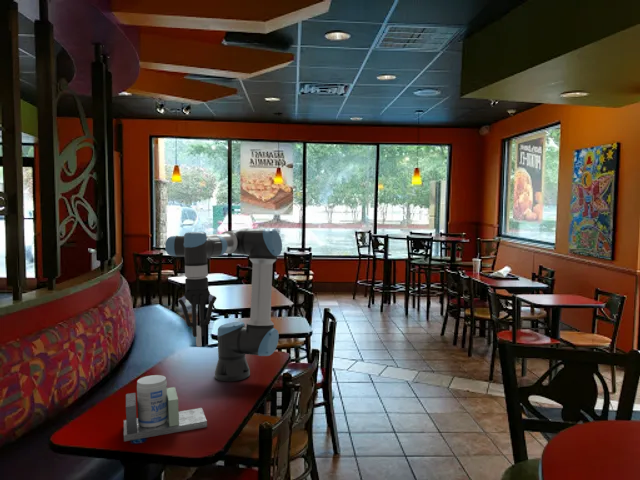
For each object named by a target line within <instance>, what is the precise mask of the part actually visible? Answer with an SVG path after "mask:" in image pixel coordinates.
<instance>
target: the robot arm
mask: <svg viewBox="0 0 640 480" xmlns="http://www.w3.org/2000/svg"><path fill="white" fill-rule="evenodd" d="M164 244H165V246H164V247H165V248H164V249H165V251H166V254H167V255H168V256H170V257H175V258H177V257H184V276H185V279H184V283H185V284H184V286H185V291H184V294H183V296H182V297H180V298H178V299H177V301H178V303H179V304H180V306H181V309H182V312H183V316H184V319H185V322H186V326H187V327H190V328H192V336H193V337H194V338H195V346H196V347H197V348H199V347H202V337H204V336H205V326H207V325H208V326H209V325H210V324H211V318H212V313H213V308H214V304H215V302H216V300H217V296H216V295H213V294H211V292H210V290H209V278H208V276H209V273H208V272H209V271H208V258H209V259H210V258H218V257H220V256H223V255H225V254H227V255H230V254H234V255H241V256H244V255H245V256H248V257H249V259H248V260H250V262H251V263H252V267H251V268H252V269H251V270H252V271H251V290H250V291H251V293H250V297H251V298H250V317H249V320H248V321H247V322H246V324H245V322H243V321H233V322H232V321H231V322H228V323H224V324H221V325H220V326H218V328H217V352H218V353H217V355H218V358H217V359H218V360H217V362H216V363H217V364H216V367H215V370H214V378H215V379H216V380H217V381H220V382H237V381H241V380H245V379H248V378H249V377H250V375H251V371H250V367H249V364H248V361H247V358H246V355H249V356H250V355H252V356H259V357H269V356H271V355H273V354H274V352H275V350H276V349H277V347H278V343H279V338H280V336H279V335H280V334H279V331H278V329H276V328H274V327H275V326H274V325H275V324H274V322H273V321H272V320H271V318H272V317H271V312H272V291H273V290H272V286H273V264H274V263H275V262H276V261H277V257H279V256H280V255H281V254H282V250H283V241H282V238H281V235H280V233H279V232H278V231H277V230H276V229H274V228H267V227H265V228H264V227H263V228H262V227H261V228H238V229H234V230H227V231H224V232H222V233H212V234H207V233H206V232H205V231H189V232H185V233H184V235H172V236H168V238H166V241H165V243H164ZM186 300H187V301H188V303H190V306H191V319H190V316H189V313H188V312H189V311H188V310H187V309H188V308H187V306H186V303H187V301H186ZM207 300H208V306H207V310H206V315H205V310H204V309H205V303H206V301H207ZM197 305H198V311H199V325H197Z"/></svg>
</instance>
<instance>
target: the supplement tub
mask: <svg viewBox="0 0 640 480" xmlns="http://www.w3.org/2000/svg"><path fill="white" fill-rule="evenodd" d="M167 384H168V382H167V377H166V376H164V375H160V374H154V375H146V376H142V377H140V378H139V379H137V381H136V407H137V418H138V424H139V425H140V426H142V427H156V426H160V425H162V424H164V423H165V422H166V421H167V419H168V408H167V388H168V385H167Z"/></svg>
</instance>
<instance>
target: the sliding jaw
mask: <svg viewBox="0 0 640 480" xmlns="http://www.w3.org/2000/svg"><path fill="white" fill-rule="evenodd" d="M176 389H177V388H176V386H172V387H167V408H168V421H169V426H176V425H179V411H180V410H179V397H178V393H177V391H176Z"/></svg>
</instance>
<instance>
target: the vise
mask: <svg viewBox="0 0 640 480" xmlns="http://www.w3.org/2000/svg"><path fill="white" fill-rule="evenodd" d="M125 415H126V417H125V419H123V442H129V441H135V440H140V439H145V438H150V437H156V436H163V435H164V436H165V435H168V434H169V435H170V434H174V433H179V432H180V433H181V432H185V431H190V430H191V431H193V430H196V429H197V430H198V429H203V428H207V427H208V420H207V418H206V415H205V412H204V410H203V408H202V407H198V408H192V409H187V410H179V425H176V426H169V421H168V419H167V421H166V422H165V423H164V424H162V425H160V426H156V427H142V426H140V425H139V424H138V417H137V395H136V392H131V393H126V394H125Z"/></svg>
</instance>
